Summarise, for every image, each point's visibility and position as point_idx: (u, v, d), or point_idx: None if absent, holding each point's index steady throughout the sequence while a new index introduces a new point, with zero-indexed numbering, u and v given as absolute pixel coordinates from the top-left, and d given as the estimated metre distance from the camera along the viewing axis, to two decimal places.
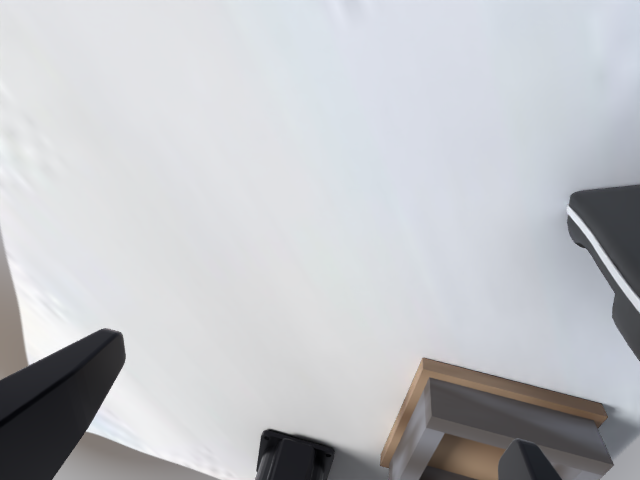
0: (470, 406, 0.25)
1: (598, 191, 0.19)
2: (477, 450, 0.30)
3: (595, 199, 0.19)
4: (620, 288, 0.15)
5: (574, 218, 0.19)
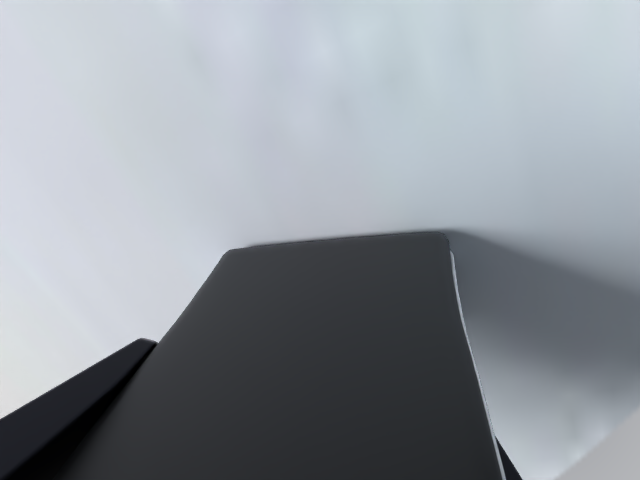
0: None
1: (252, 251, 0.11)
2: None
3: (229, 268, 0.11)
4: None
5: None
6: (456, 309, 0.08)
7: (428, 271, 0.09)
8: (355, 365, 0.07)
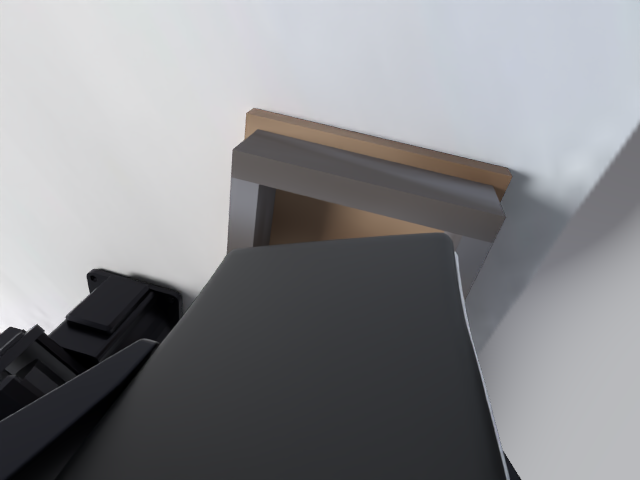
0: (303, 152, 0.17)
1: (256, 250, 0.11)
2: None
3: (232, 267, 0.11)
4: None
5: None
6: (460, 310, 0.08)
7: (432, 272, 0.09)
8: (359, 365, 0.07)
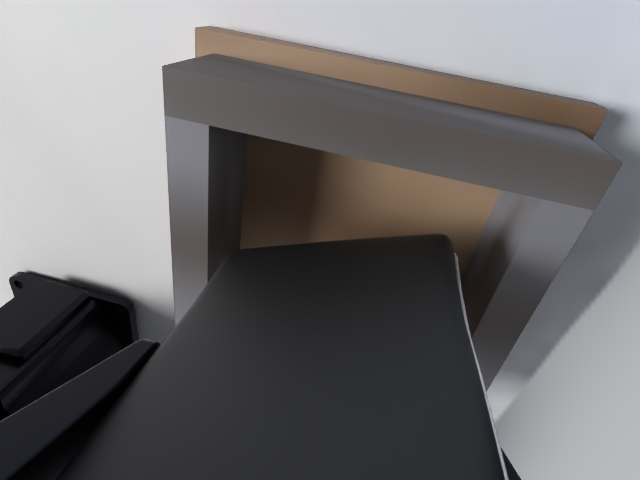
0: (280, 77, 0.11)
1: (256, 251, 0.11)
2: None
3: (232, 268, 0.11)
4: None
5: None
6: (460, 312, 0.08)
7: (432, 273, 0.09)
8: (358, 367, 0.07)
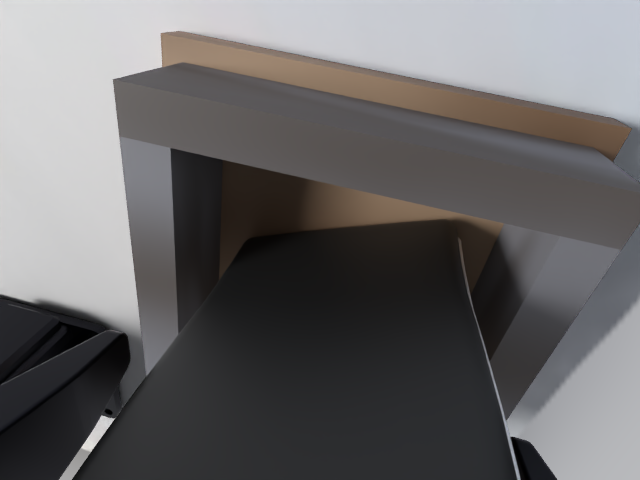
0: (255, 91, 0.09)
1: (272, 238, 0.12)
2: None
3: (250, 253, 0.12)
4: None
5: None
6: (463, 287, 0.09)
7: (437, 254, 0.10)
8: (372, 334, 0.08)
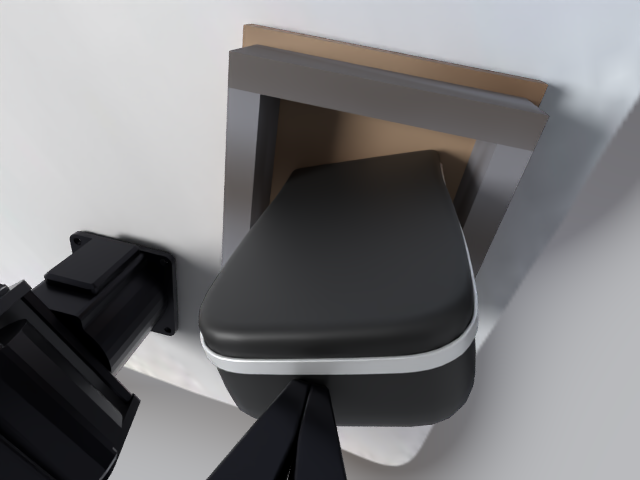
0: (310, 60, 0.15)
1: (312, 167, 0.18)
2: None
3: (299, 175, 0.17)
4: None
5: None
6: (441, 177, 0.14)
7: (426, 164, 0.15)
8: (387, 197, 0.13)
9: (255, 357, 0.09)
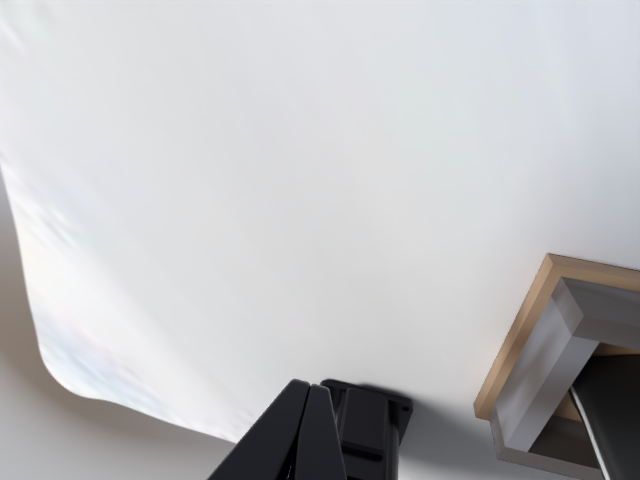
0: (629, 306, 0.18)
1: (590, 362, 0.21)
2: None
3: (588, 374, 0.20)
4: None
5: (570, 387, 0.21)
6: None
7: None
8: None
9: None
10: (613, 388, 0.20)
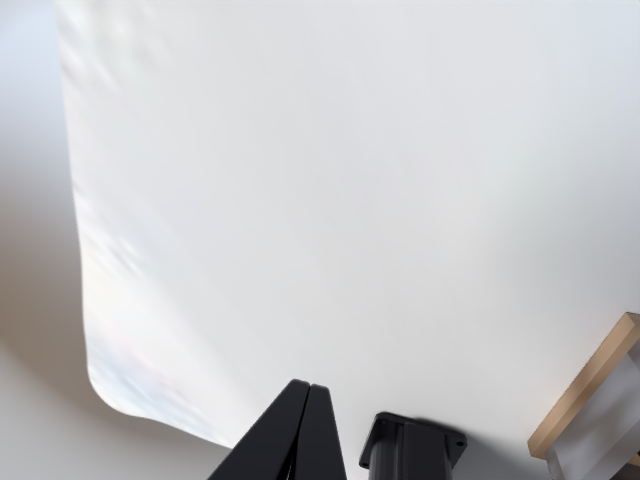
0: None
1: None
2: None
3: None
4: None
5: None
6: None
7: None
8: None
9: None
10: None
